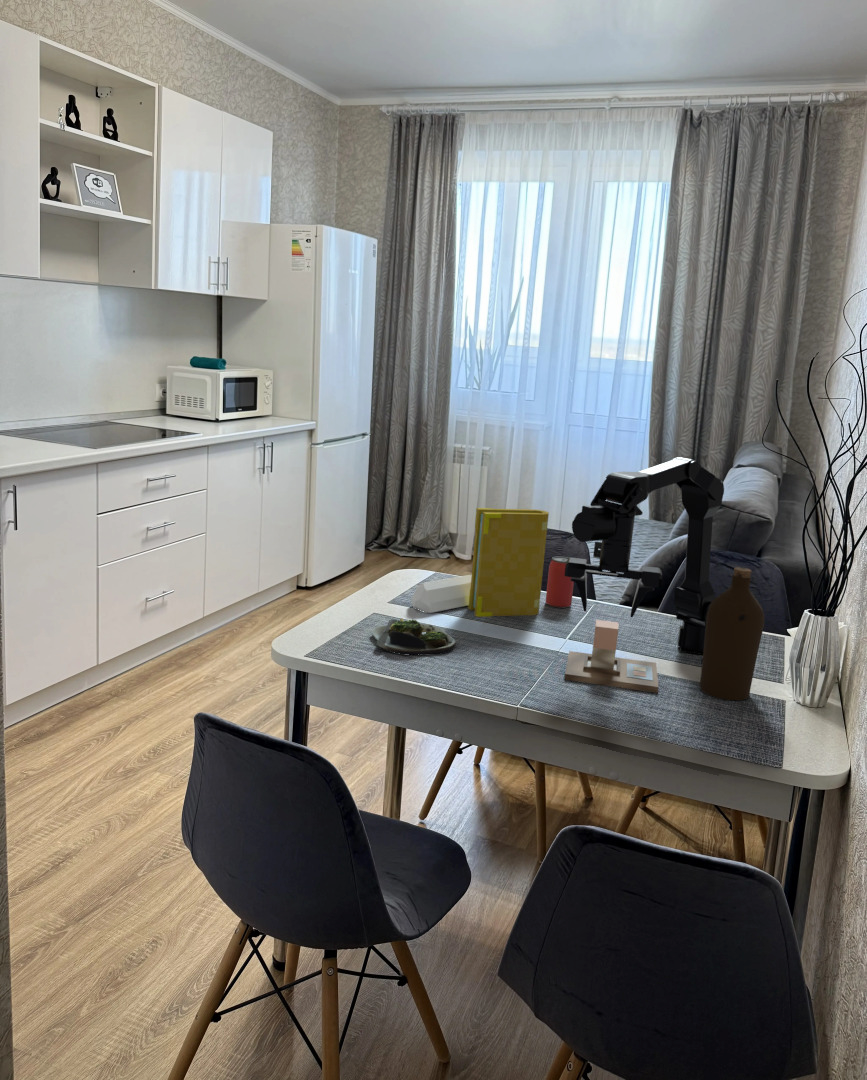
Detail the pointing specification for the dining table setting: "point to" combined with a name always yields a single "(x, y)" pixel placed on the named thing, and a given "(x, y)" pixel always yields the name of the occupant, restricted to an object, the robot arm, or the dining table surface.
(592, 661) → the birch block
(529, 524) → the book
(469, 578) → the crystal
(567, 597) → the beer can
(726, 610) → the olive oil
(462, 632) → the dining table surface
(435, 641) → the salad plate
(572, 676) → the board
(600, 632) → the terracotta block
